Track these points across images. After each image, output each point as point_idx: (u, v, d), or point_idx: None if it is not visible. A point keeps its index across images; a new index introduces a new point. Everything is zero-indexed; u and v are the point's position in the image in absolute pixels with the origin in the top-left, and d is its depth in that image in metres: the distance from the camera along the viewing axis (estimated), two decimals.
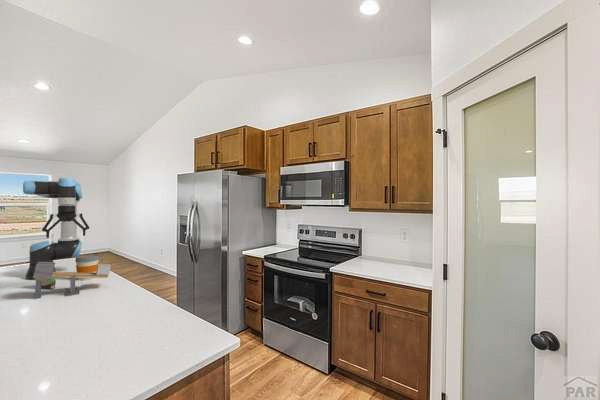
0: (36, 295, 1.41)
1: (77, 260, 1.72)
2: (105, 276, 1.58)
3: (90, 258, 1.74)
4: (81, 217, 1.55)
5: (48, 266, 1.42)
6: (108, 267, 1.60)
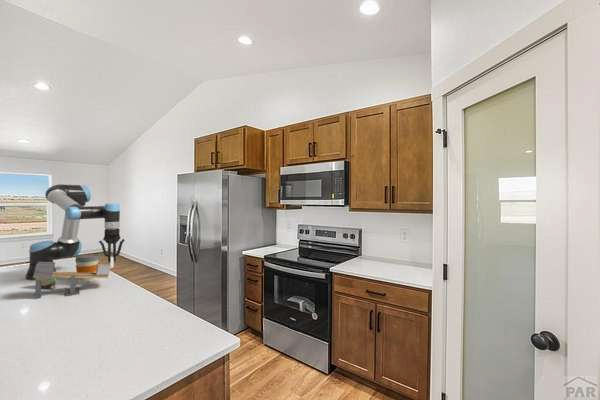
0: (36, 295, 1.41)
1: (77, 260, 1.72)
2: (105, 276, 1.58)
3: (90, 258, 1.74)
4: (121, 242, 1.65)
5: (48, 266, 1.42)
6: (108, 267, 1.60)
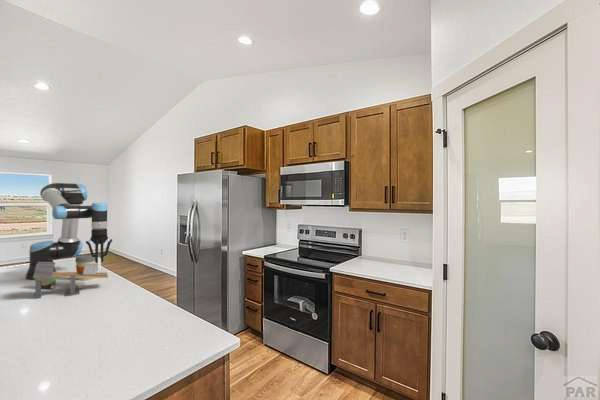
0: (36, 295, 1.41)
1: (77, 260, 1.72)
2: (105, 276, 1.58)
3: (90, 258, 1.74)
4: (109, 243, 1.61)
5: (48, 266, 1.42)
6: (95, 267, 1.56)
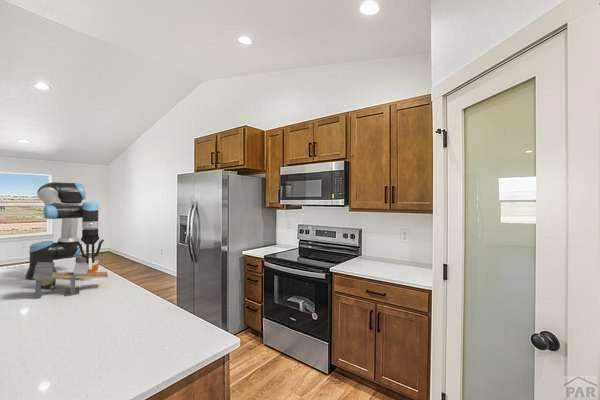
0: (36, 295, 1.41)
1: (77, 260, 1.72)
2: (105, 276, 1.58)
3: None
4: (100, 243, 1.59)
5: (48, 266, 1.42)
6: (86, 266, 1.54)
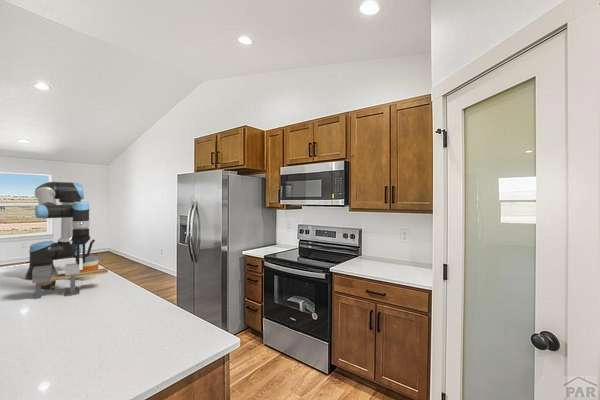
0: (36, 295, 1.41)
1: None
2: (105, 272, 1.58)
3: (90, 258, 1.74)
4: (91, 243, 1.56)
5: (45, 270, 1.41)
6: (77, 266, 1.51)
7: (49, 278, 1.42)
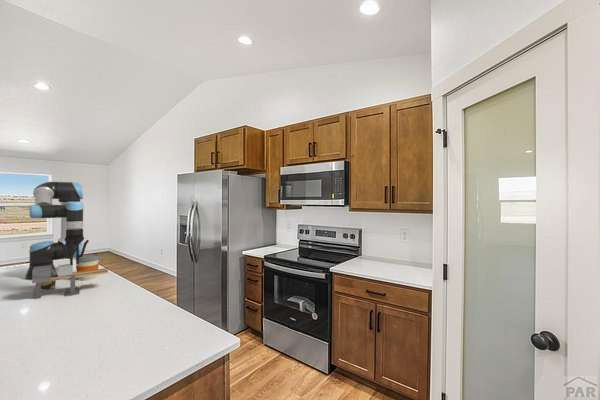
0: (36, 295, 1.41)
1: None
2: (105, 272, 1.58)
3: (90, 258, 1.74)
4: (85, 243, 1.54)
5: (45, 270, 1.41)
6: (70, 267, 1.49)
7: (49, 278, 1.42)
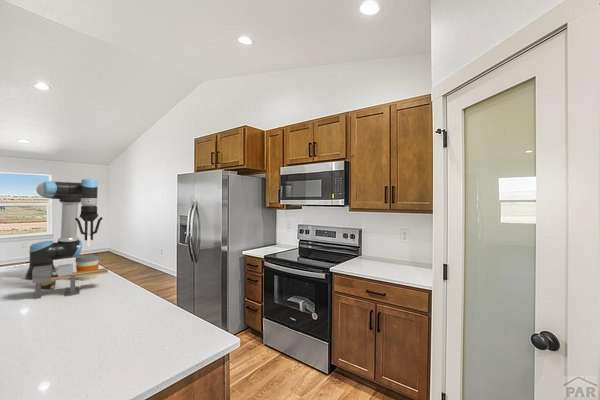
0: (36, 295, 1.41)
1: (77, 260, 1.72)
2: (105, 272, 1.58)
3: (90, 258, 1.74)
4: (99, 220, 1.58)
5: (45, 270, 1.41)
6: (70, 267, 1.49)
7: (49, 278, 1.42)
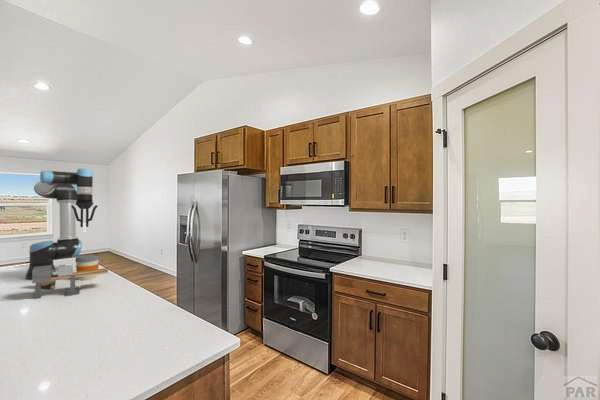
0: (36, 295, 1.41)
1: (77, 260, 1.72)
2: (105, 272, 1.58)
3: (90, 258, 1.74)
4: (94, 208, 1.66)
5: (45, 270, 1.41)
6: (70, 267, 1.49)
7: (49, 278, 1.42)
